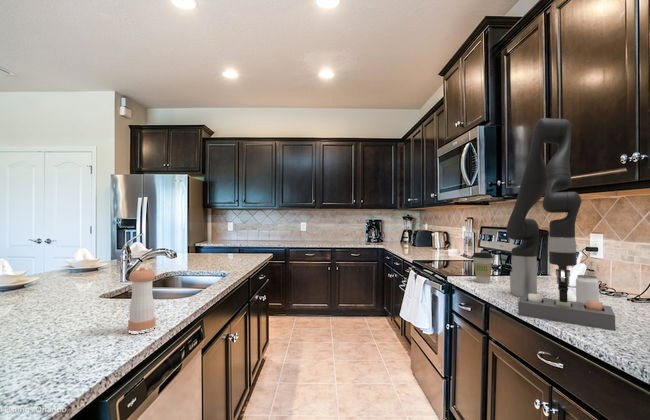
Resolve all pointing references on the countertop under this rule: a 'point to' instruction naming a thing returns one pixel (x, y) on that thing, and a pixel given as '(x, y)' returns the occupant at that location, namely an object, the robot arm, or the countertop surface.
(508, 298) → the countertop surface
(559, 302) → the button sage
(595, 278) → the grey block
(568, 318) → the panel
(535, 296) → the button cream
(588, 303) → the button terracotta
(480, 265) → the coffee cup
